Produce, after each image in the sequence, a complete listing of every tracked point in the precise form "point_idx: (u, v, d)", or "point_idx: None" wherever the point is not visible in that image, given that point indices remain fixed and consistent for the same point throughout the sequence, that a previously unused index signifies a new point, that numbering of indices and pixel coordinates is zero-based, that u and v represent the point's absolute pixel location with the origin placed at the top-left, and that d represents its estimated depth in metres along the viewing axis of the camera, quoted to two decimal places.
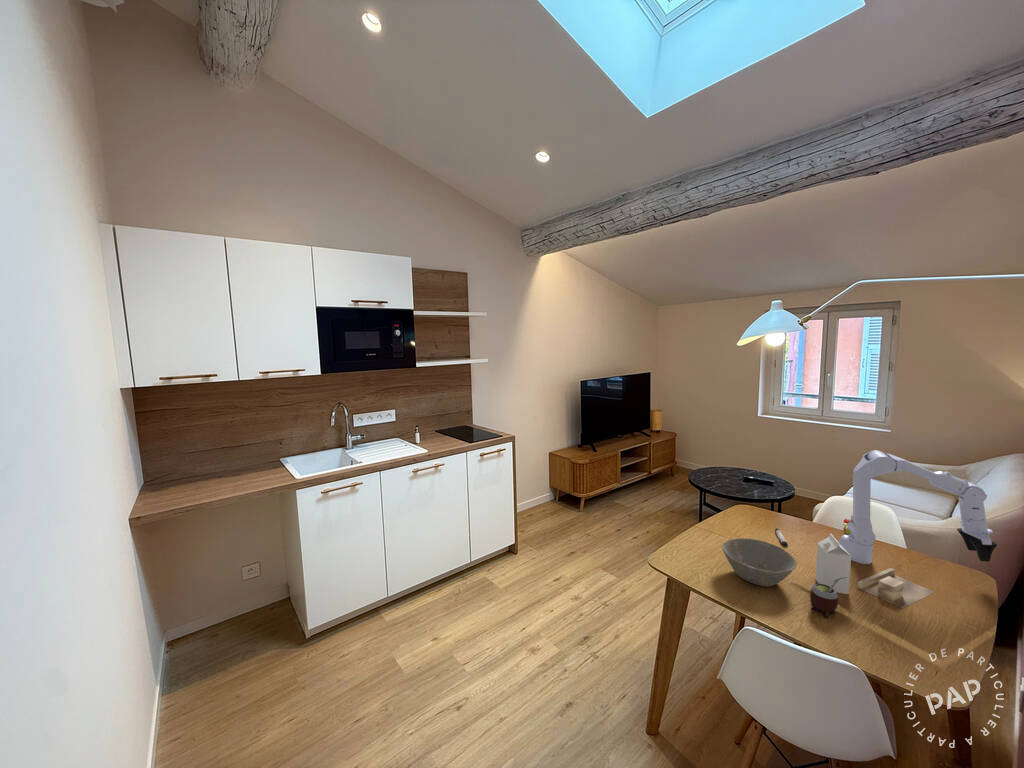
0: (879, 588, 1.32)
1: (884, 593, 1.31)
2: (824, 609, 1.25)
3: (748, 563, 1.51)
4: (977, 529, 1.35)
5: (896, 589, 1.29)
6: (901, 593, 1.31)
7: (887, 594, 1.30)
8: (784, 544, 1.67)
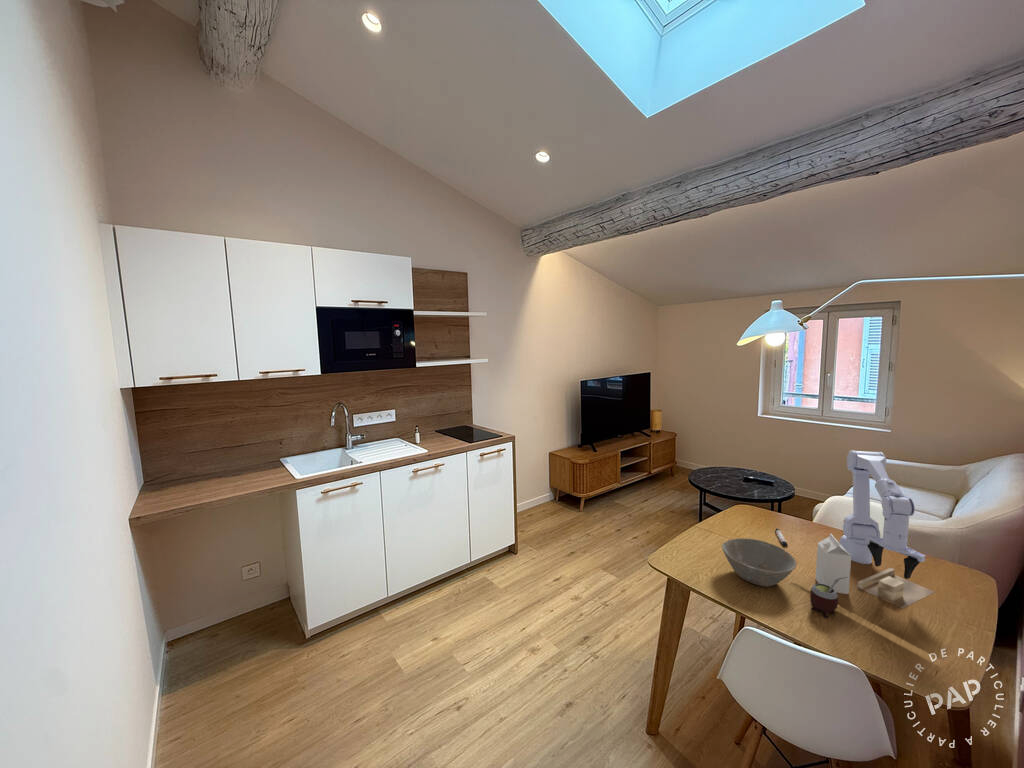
0: (879, 588, 1.32)
1: (884, 593, 1.31)
2: (824, 609, 1.25)
3: (748, 563, 1.51)
4: None
5: (896, 589, 1.29)
6: (901, 593, 1.31)
7: (887, 594, 1.30)
8: (784, 544, 1.67)
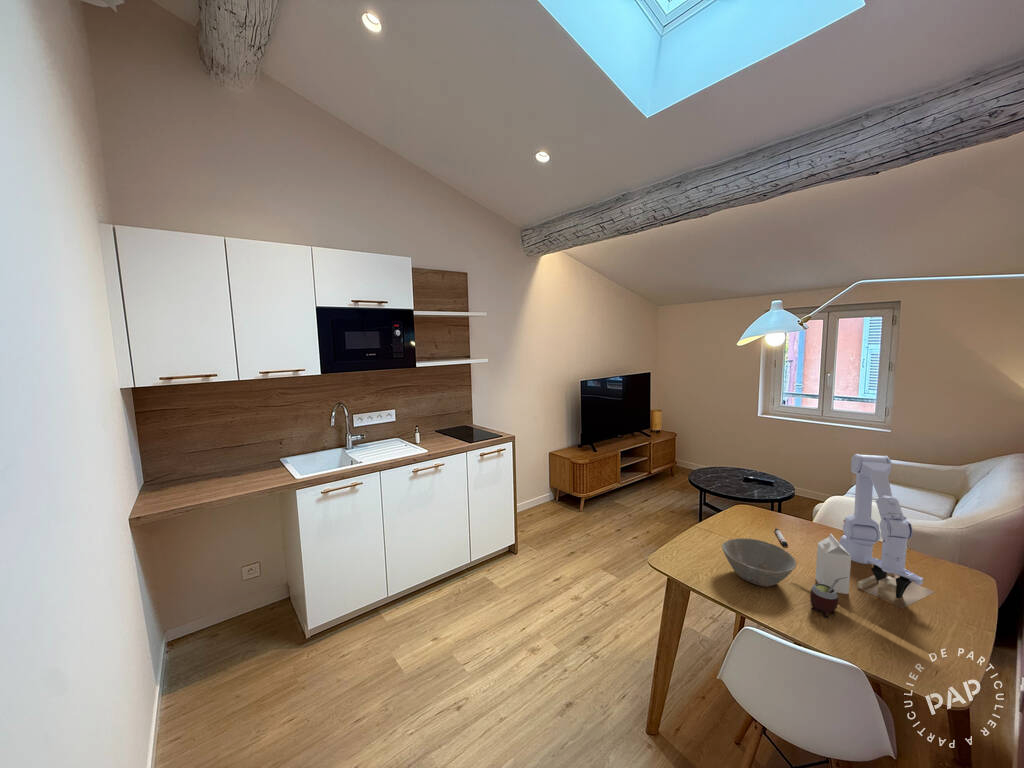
0: (879, 588, 1.32)
1: (884, 593, 1.31)
2: (824, 609, 1.25)
3: (748, 563, 1.51)
4: None
5: (896, 589, 1.29)
6: None
7: (887, 594, 1.30)
8: (784, 544, 1.67)
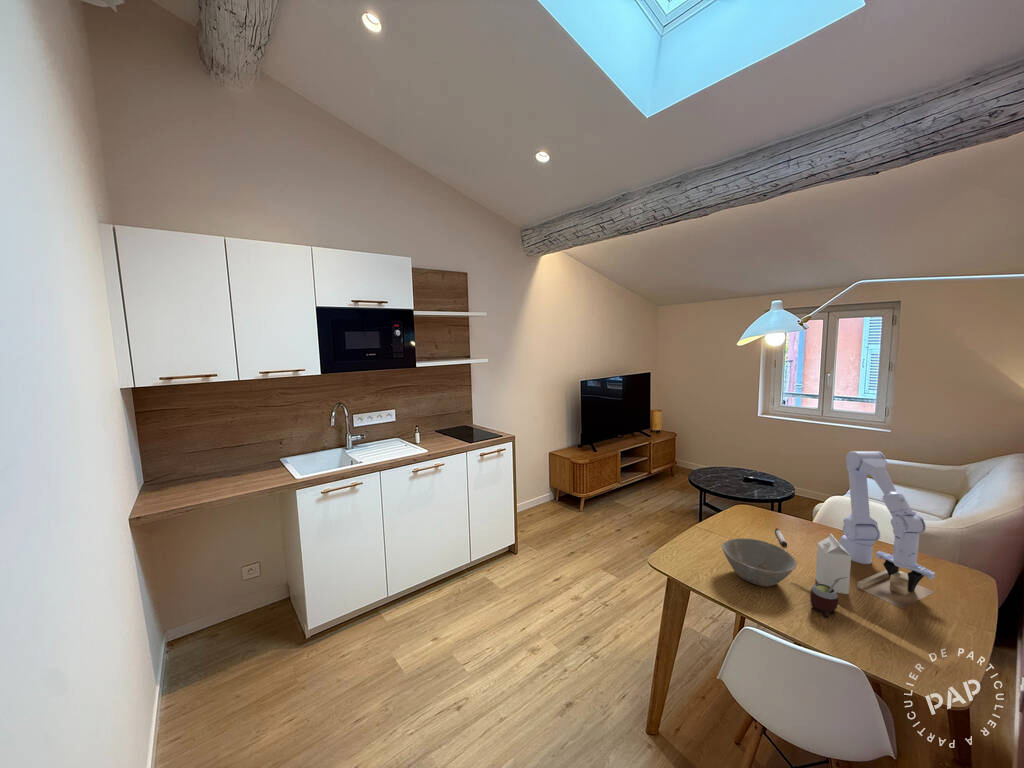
0: (891, 582, 1.35)
1: (896, 587, 1.34)
2: (824, 609, 1.25)
3: (748, 563, 1.51)
4: None
5: (908, 583, 1.32)
6: None
7: (899, 588, 1.33)
8: (783, 544, 1.67)
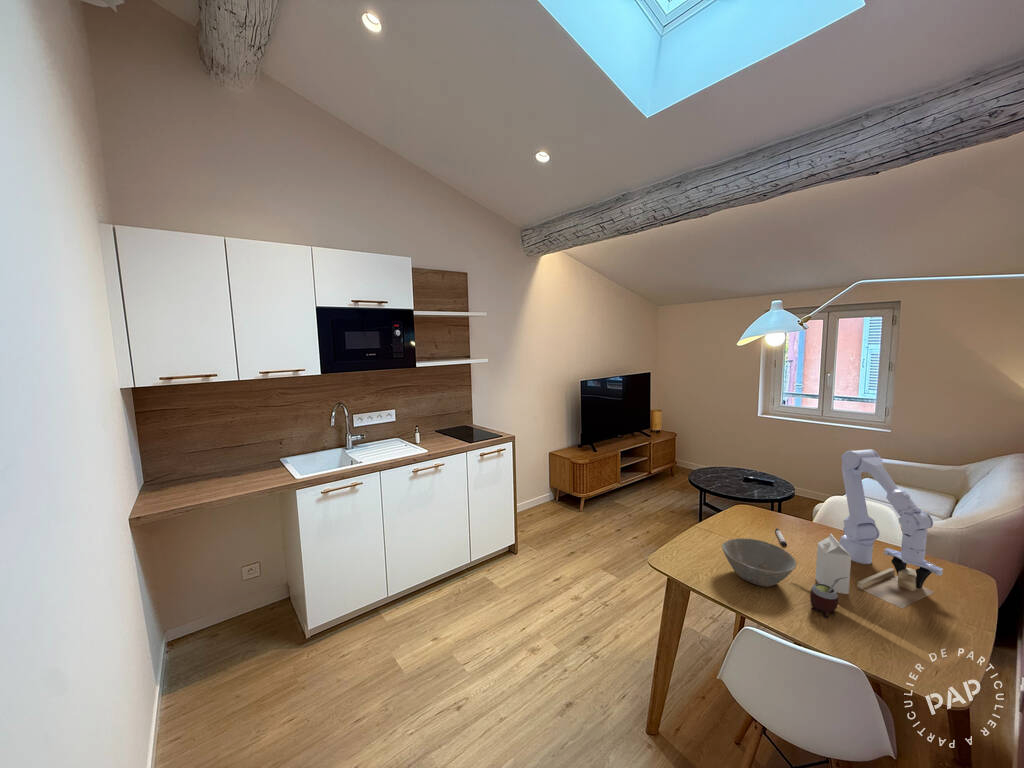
0: (899, 578, 1.37)
1: (904, 584, 1.36)
2: (824, 609, 1.25)
3: (748, 563, 1.51)
4: None
5: (916, 580, 1.34)
6: None
7: (907, 584, 1.35)
8: (783, 544, 1.67)
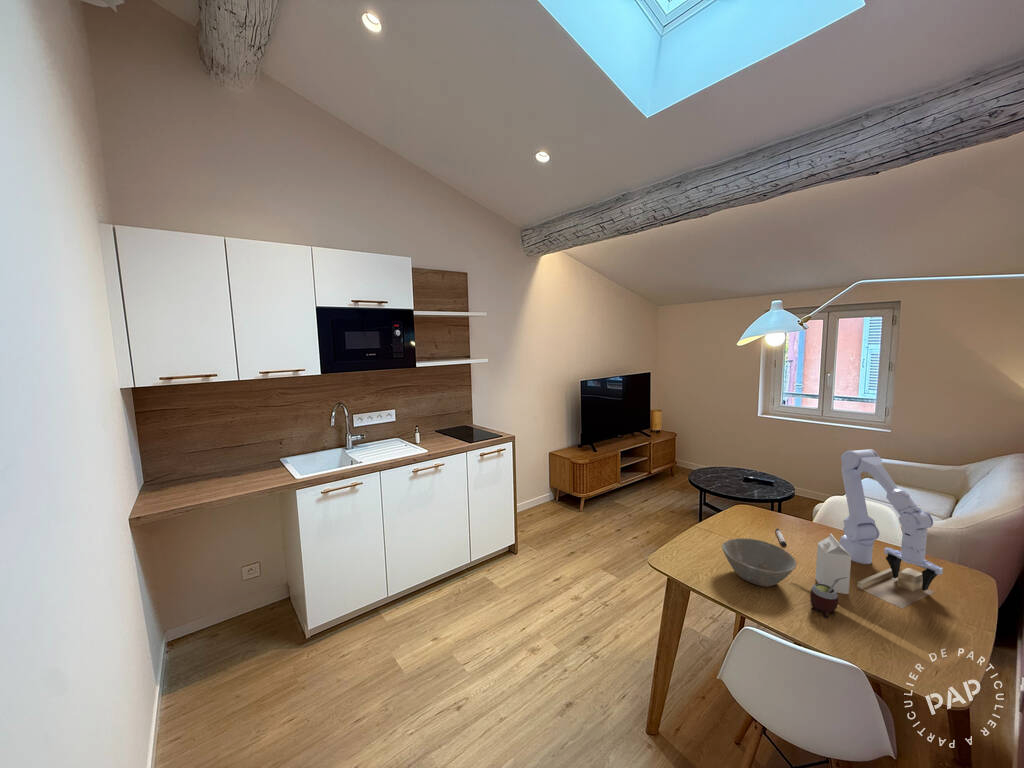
0: (899, 578, 1.37)
1: (904, 584, 1.36)
2: (824, 609, 1.25)
3: (748, 563, 1.51)
4: None
5: (916, 580, 1.34)
6: (921, 584, 1.35)
7: (907, 585, 1.35)
8: (783, 544, 1.67)
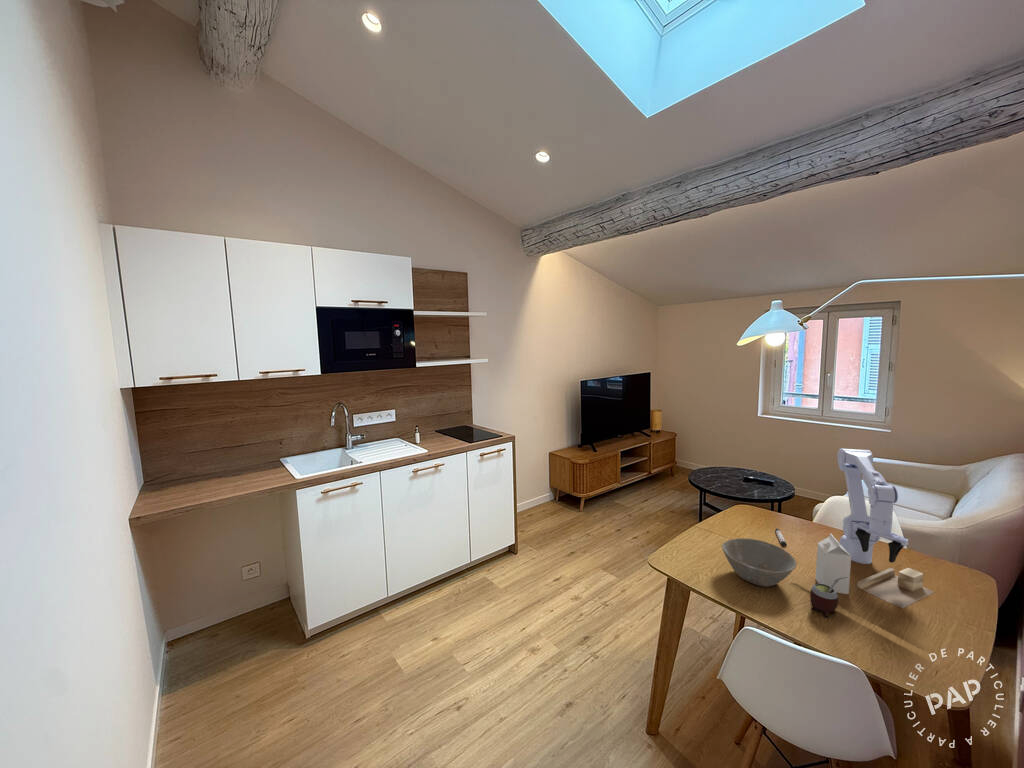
0: (899, 578, 1.37)
1: (904, 584, 1.36)
2: (824, 609, 1.25)
3: (748, 563, 1.51)
4: None
5: (916, 580, 1.34)
6: (921, 584, 1.35)
7: (907, 585, 1.35)
8: (783, 544, 1.67)
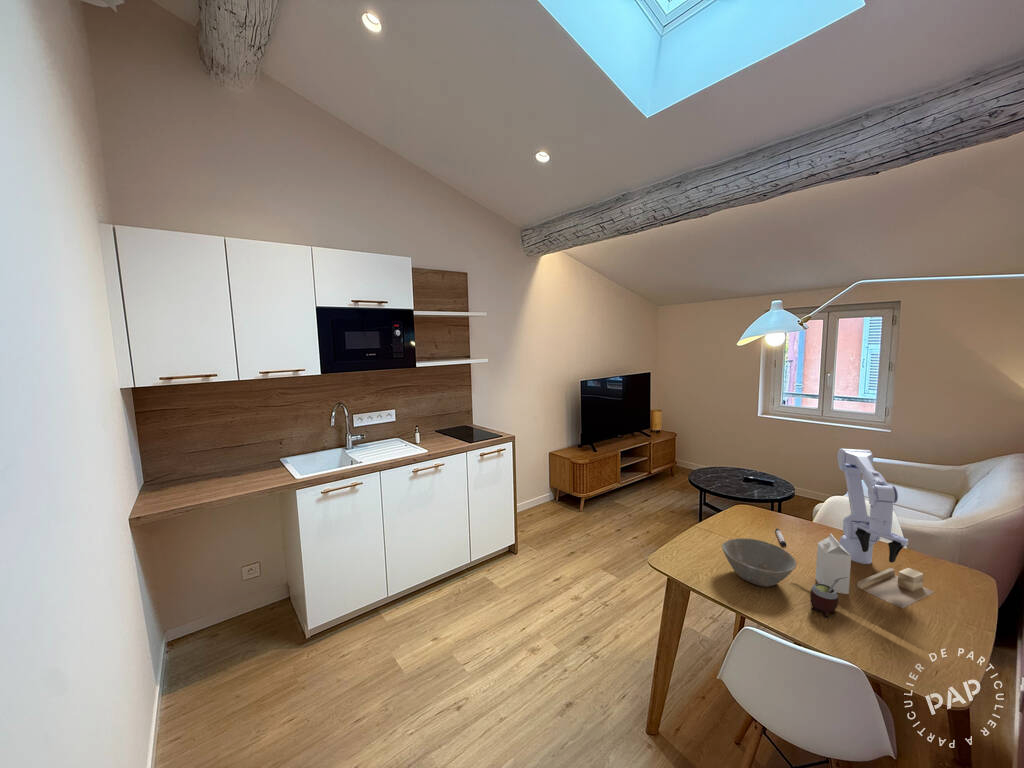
0: (899, 578, 1.37)
1: (904, 584, 1.36)
2: (824, 609, 1.25)
3: (748, 563, 1.51)
4: None
5: (916, 580, 1.34)
6: (921, 584, 1.35)
7: (907, 585, 1.35)
8: (783, 544, 1.67)
